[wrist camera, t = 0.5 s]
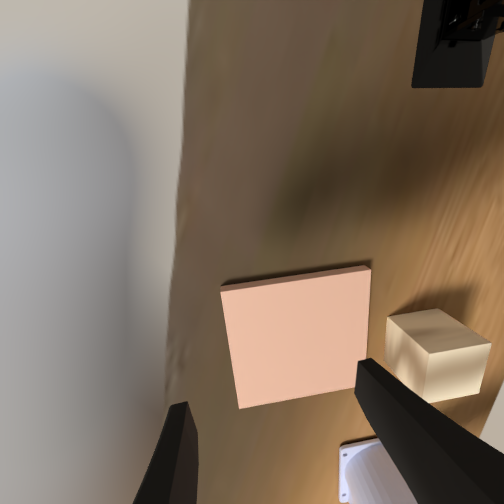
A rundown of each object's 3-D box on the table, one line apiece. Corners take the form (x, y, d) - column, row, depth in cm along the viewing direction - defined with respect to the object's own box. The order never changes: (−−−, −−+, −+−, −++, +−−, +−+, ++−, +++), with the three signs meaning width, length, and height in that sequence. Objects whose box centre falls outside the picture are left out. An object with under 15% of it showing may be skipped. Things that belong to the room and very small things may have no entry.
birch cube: (430, 351, 25) (478, 393, 20) (382, 359, 25) (421, 404, 20) (437, 307, 24) (491, 342, 19) (386, 316, 23) (429, 353, 18)
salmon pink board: (358, 377, 25) (364, 385, 24) (238, 399, 24) (239, 408, 23) (364, 265, 21) (371, 269, 20) (220, 286, 20) (220, 292, 19)
